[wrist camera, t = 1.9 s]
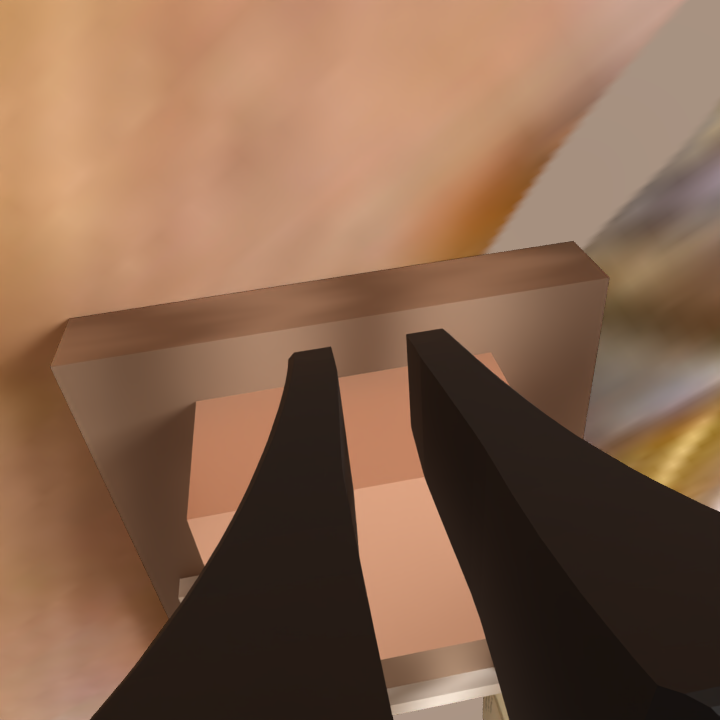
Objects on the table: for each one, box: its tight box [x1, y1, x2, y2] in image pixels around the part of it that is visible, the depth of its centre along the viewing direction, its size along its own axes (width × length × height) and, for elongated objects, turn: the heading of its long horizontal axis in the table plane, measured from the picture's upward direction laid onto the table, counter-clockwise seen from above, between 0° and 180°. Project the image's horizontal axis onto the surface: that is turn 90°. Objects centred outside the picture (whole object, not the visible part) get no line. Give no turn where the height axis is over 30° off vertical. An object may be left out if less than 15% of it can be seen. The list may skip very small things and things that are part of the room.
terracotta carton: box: [187, 352, 510, 660], centre depth 20 cm, size 9×8×4 cm
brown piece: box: [50, 241, 609, 716], centre depth 25 cm, size 16×22×3 cm
